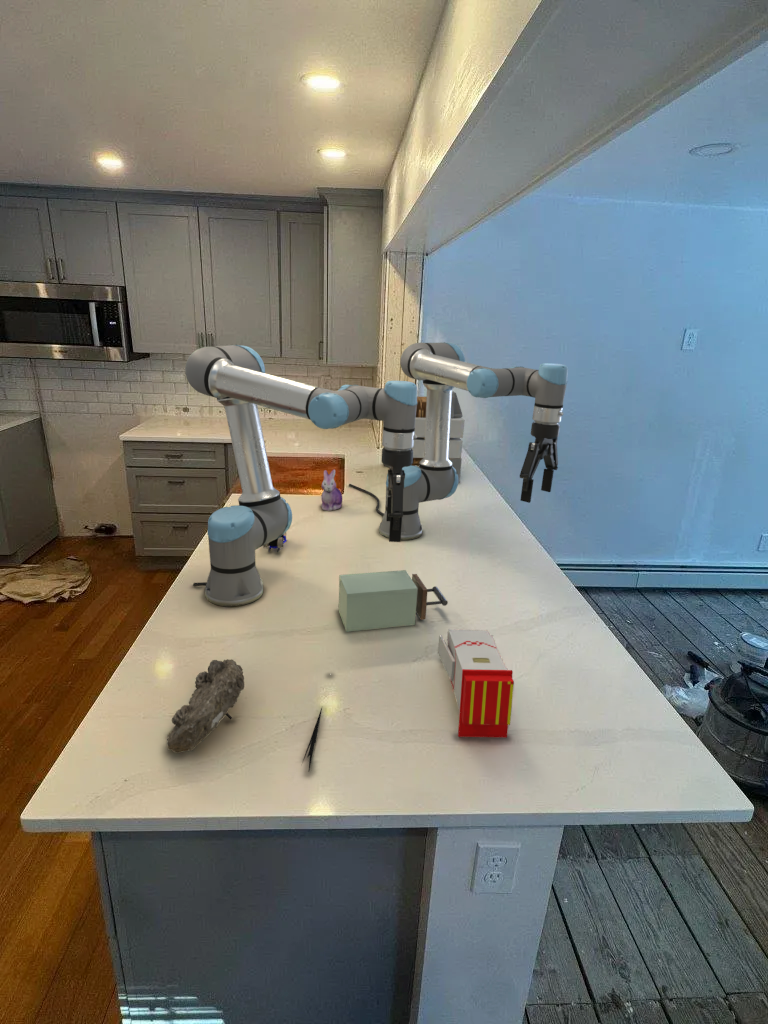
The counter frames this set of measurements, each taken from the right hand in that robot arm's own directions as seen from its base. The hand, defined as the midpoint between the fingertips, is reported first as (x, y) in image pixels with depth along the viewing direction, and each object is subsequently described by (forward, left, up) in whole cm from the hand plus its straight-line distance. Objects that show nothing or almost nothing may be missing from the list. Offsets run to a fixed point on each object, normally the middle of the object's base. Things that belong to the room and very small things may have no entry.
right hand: (535, 496), depth 162 cm
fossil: (+1, -100, -26) cm, 103 cm away
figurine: (-84, -11, -26) cm, 88 cm away
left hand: (-10, -45, -4) cm, 47 cm away
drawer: (-6, -45, -25) cm, 52 cm away
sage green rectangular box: (-9, -51, -26) cm, 58 cm away
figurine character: (-63, -48, -26) cm, 83 cm away
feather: (+14, -84, -26) cm, 89 cm away
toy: (+26, -54, -26) cm, 66 cm away
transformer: (-101, +53, -26) cm, 117 cm away
